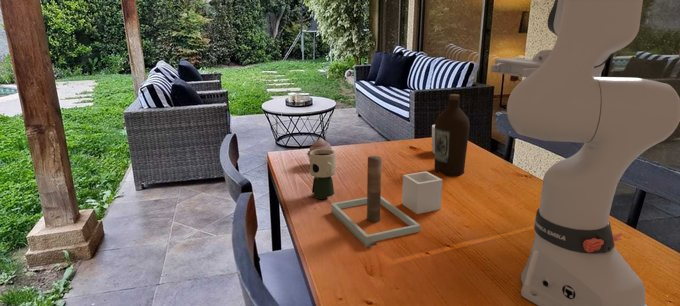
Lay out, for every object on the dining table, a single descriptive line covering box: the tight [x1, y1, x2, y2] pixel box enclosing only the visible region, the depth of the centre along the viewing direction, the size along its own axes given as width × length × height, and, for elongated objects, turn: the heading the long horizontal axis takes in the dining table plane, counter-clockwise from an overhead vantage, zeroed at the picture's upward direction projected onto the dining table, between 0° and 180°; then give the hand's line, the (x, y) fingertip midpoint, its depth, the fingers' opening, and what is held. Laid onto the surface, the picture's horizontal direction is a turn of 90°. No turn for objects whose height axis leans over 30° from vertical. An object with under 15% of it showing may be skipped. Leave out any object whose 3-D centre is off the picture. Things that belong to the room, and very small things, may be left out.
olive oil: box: [434, 93, 471, 177], centre depth 143 cm, size 11×11×25 cm
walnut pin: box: [366, 155, 382, 224], centre depth 108 cm, size 3×3×16 cm
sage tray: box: [330, 196, 422, 248], centre depth 110 cm, size 20×14×2 cm
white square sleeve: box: [401, 170, 443, 215], centre depth 117 cm, size 7×7×9 cm
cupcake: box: [306, 137, 332, 158], centre depth 151 cm, size 9×9×10 cm
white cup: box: [431, 124, 435, 155], centre depth 165 cm, size 8×8×10 cm
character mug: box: [308, 149, 336, 200], centre depth 125 cm, size 11×7×13 cm, turn 26°
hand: (506, 70), depth 109 cm, fingers open, 8 cm apart
